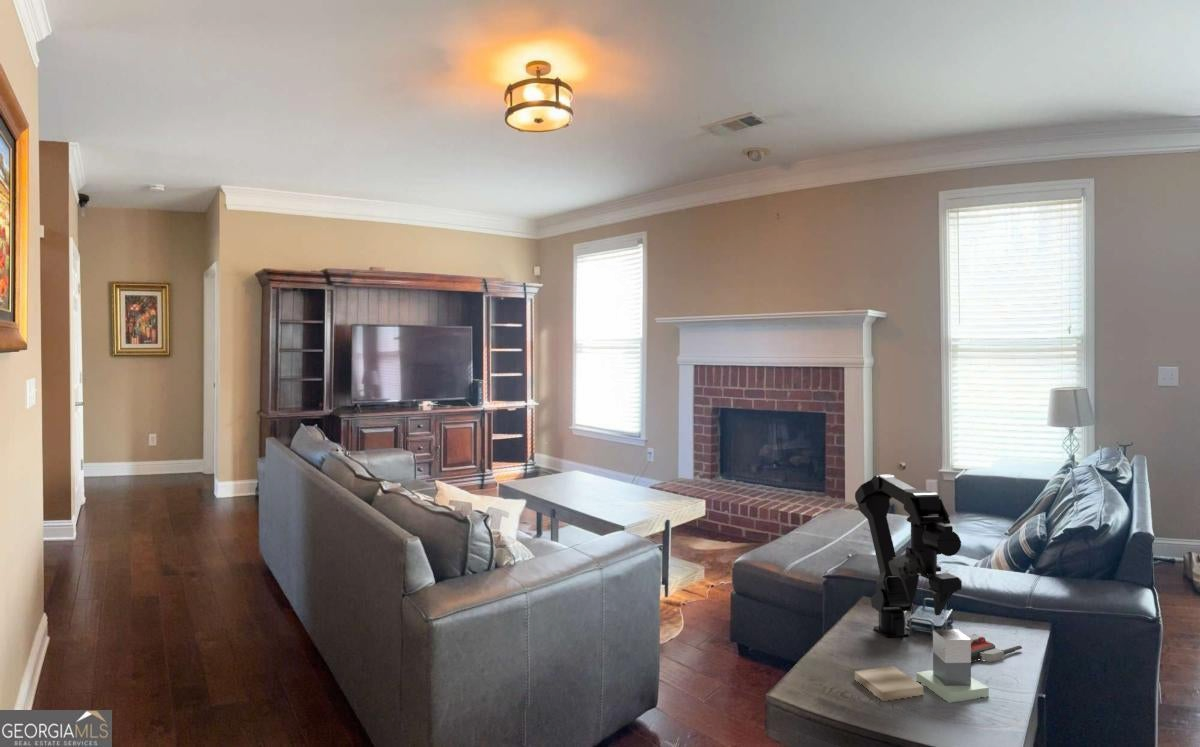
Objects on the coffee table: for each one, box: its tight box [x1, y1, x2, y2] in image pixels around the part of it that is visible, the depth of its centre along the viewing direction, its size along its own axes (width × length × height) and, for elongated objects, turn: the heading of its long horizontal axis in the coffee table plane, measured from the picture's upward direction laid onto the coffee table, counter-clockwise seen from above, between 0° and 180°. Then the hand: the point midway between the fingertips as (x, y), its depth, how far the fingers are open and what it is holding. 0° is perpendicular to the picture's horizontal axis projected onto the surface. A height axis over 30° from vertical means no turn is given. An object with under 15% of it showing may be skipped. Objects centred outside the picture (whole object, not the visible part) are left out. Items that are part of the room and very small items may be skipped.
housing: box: [932, 629, 972, 686], centre depth 150 cm, size 6×6×10 cm
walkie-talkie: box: [966, 633, 1023, 663], centre depth 167 cm, size 9×4×20 cm
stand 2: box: [915, 669, 990, 704], centre depth 150 cm, size 10×10×2 cm
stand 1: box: [854, 665, 924, 702], centre depth 151 cm, size 10×10×2 cm
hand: (923, 608), depth 165 cm, fingers open, 9 cm apart
